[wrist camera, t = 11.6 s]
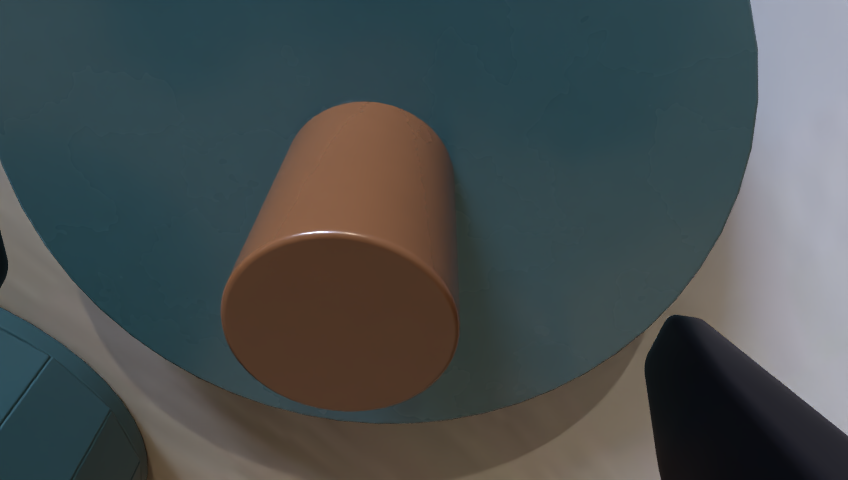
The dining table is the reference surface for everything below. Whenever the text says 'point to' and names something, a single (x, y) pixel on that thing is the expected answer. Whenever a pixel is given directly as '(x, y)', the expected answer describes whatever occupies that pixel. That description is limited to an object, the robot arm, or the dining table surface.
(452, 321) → the tin lid
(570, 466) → the dining table surface
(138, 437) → the tin
